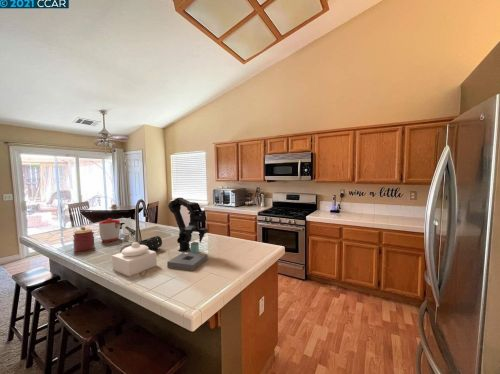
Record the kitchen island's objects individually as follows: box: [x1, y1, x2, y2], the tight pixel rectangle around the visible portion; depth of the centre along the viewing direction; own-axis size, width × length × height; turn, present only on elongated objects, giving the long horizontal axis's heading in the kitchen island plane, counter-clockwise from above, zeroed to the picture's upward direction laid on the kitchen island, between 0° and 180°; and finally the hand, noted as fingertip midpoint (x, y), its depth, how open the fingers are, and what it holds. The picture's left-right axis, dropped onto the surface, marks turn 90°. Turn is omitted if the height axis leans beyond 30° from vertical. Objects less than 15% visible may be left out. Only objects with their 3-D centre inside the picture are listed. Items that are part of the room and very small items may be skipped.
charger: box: [190, 241, 200, 253], centre depth 157 cm, size 4×4×8 cm
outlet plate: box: [166, 251, 209, 272], centre depth 140 cm, size 18×18×4 cm
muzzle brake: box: [119, 235, 163, 253], centre depth 157 cm, size 10×28×10 cm, turn 155°
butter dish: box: [111, 241, 158, 277], centre depth 134 cm, size 18×18×16 cm
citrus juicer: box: [98, 217, 122, 243], centre depth 192 cm, size 16×17×20 cm
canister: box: [72, 226, 95, 253], centre depth 169 cm, size 13×13×18 cm
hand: (194, 242), depth 156 cm, fingers open, 9 cm apart
